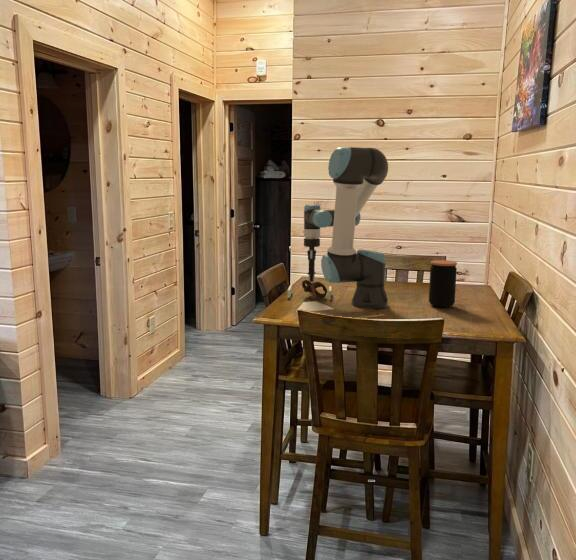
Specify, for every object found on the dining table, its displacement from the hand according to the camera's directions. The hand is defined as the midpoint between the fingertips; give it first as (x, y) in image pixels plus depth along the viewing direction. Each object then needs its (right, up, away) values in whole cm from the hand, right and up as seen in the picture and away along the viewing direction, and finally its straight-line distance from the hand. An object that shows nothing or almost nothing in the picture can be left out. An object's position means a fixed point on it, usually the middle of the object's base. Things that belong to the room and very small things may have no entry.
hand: (311, 287), depth 258 cm
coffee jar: (+54, -7, -27) cm, 61 cm away
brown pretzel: (-1, -4, -13) cm, 14 cm away
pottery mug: (-2, -4, -14) cm, 14 cm away
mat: (-3, -7, -33) cm, 34 cm away
